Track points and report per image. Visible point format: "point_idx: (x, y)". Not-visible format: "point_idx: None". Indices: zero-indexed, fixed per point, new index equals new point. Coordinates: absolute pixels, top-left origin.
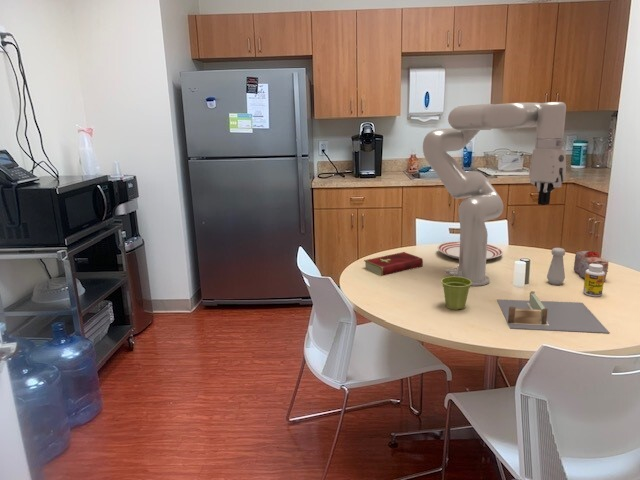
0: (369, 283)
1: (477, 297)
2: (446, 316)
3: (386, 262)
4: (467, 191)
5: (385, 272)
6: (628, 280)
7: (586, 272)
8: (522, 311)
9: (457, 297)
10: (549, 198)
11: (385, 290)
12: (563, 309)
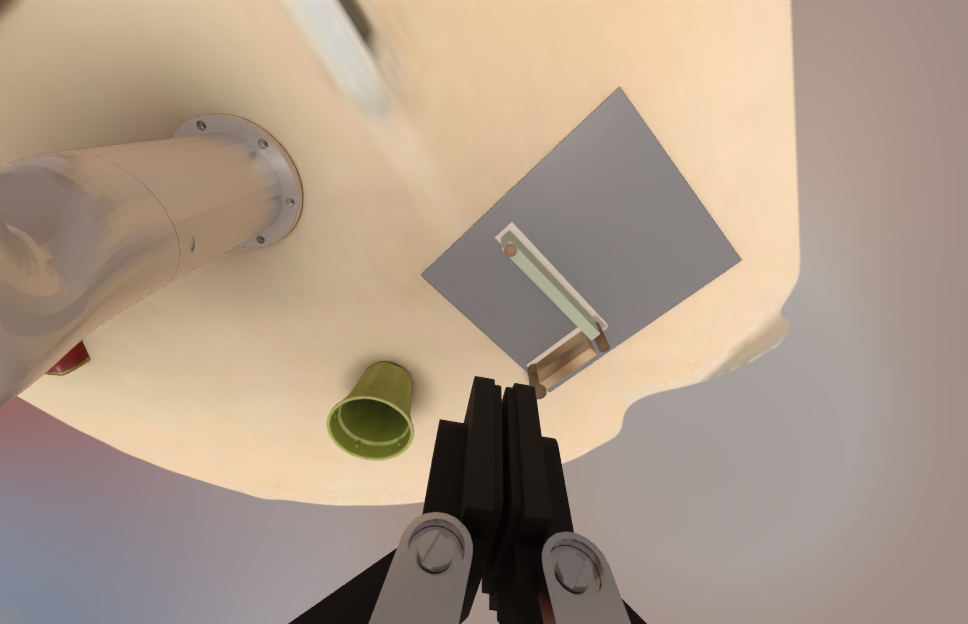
0: (145, 415)
1: (373, 296)
2: (420, 429)
3: None
4: None
5: (77, 353)
6: None
7: None
8: (559, 379)
9: (403, 420)
10: (559, 473)
11: (212, 419)
12: (595, 201)
